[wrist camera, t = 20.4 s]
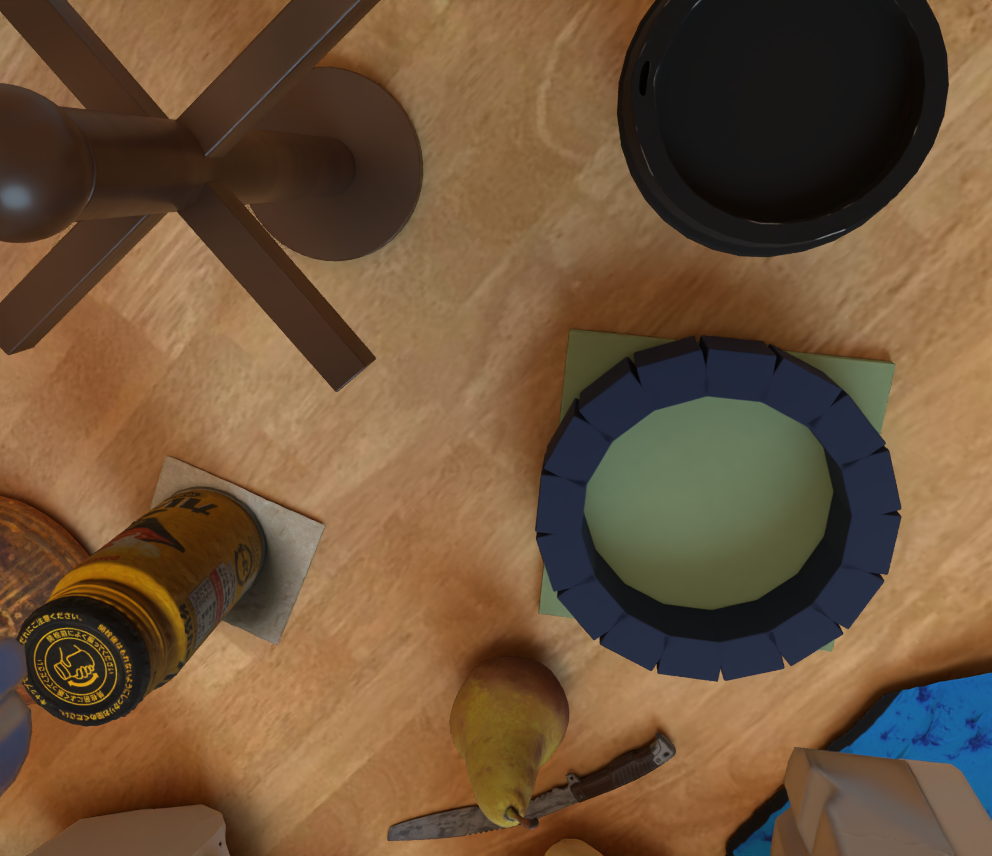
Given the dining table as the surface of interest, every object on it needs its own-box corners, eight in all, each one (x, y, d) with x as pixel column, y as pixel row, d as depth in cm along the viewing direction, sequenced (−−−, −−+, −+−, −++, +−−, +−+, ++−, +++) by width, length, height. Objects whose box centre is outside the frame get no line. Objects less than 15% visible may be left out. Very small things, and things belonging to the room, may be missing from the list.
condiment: (167, 454, 43) (11, 557, 32) (326, 523, 43) (227, 652, 32) (128, 576, 45) (-31, 713, 34) (279, 641, 45) (171, 801, 34)
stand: (204, 14, 37) (-399, -222, 15) (471, 34, 36) (264, -185, 14) (208, 285, 40) (-279, 430, 18) (452, 309, 39) (261, 496, 17)
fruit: (450, 639, 44) (398, 805, 32) (564, 631, 43) (552, 798, 32) (466, 735, 45) (422, 926, 34) (577, 729, 45) (570, 922, 33)
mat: (569, 328, 39) (569, 330, 39) (892, 361, 38) (896, 364, 37) (539, 609, 43) (538, 613, 43) (829, 646, 42) (832, 652, 41)
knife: (652, 717, 43) (682, 763, 44) (651, 708, 44) (681, 753, 44) (379, 836, 48) (409, 876, 48) (382, 826, 48) (412, 866, 49)
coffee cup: (628, 1, 35) (649, -114, 21) (843, 25, 34) (1016, -77, 20) (596, 215, 38) (594, 244, 23) (796, 241, 37) (920, 287, 23)
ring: (558, 320, 38) (555, 332, 36) (910, 356, 37) (936, 371, 34) (527, 623, 43) (522, 656, 40) (840, 664, 42) (858, 701, 39)
